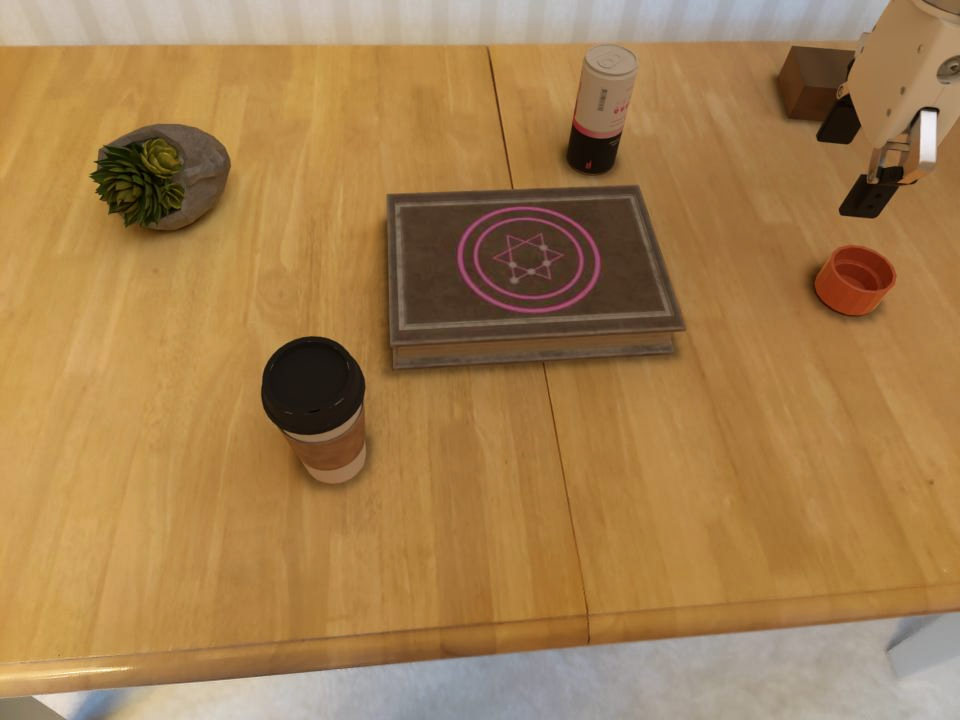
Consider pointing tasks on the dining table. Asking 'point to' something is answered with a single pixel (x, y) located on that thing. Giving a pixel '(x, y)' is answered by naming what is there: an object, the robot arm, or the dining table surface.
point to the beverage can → (601, 107)
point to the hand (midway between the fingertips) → (843, 176)
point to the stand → (812, 80)
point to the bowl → (855, 280)
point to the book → (526, 277)
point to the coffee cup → (318, 405)
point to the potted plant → (162, 175)
